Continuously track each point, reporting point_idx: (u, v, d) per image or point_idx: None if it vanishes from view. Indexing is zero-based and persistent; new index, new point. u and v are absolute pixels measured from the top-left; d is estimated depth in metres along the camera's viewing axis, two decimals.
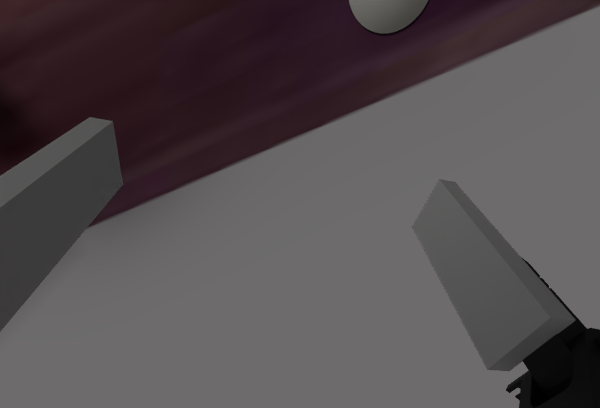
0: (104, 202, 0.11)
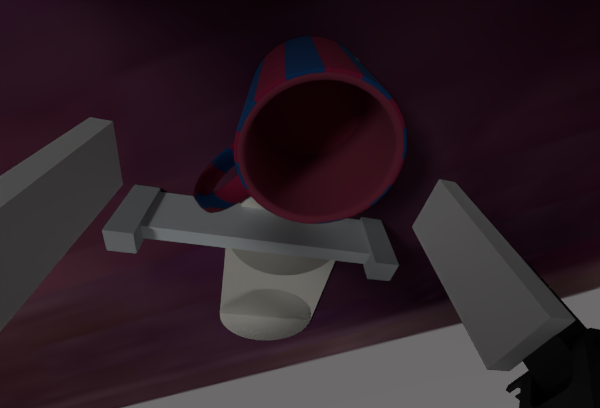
0: (104, 202, 0.11)
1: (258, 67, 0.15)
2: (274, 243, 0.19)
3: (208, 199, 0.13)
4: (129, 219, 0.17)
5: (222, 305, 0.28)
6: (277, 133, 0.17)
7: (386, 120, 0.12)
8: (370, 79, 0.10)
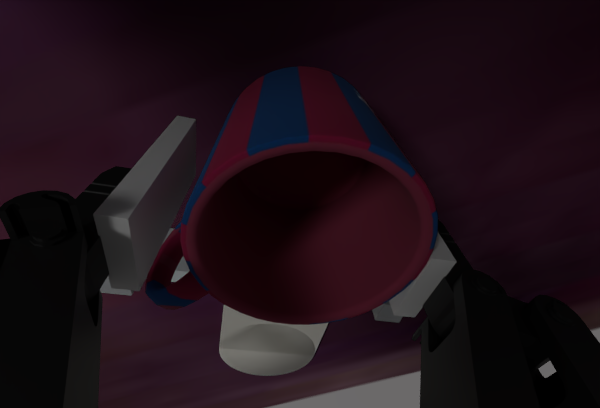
0: (185, 190, 0.13)
1: (231, 108, 0.12)
2: None
3: (159, 296, 0.10)
4: None
5: (221, 340, 0.27)
6: (261, 185, 0.14)
7: (404, 191, 0.08)
8: (382, 148, 0.06)
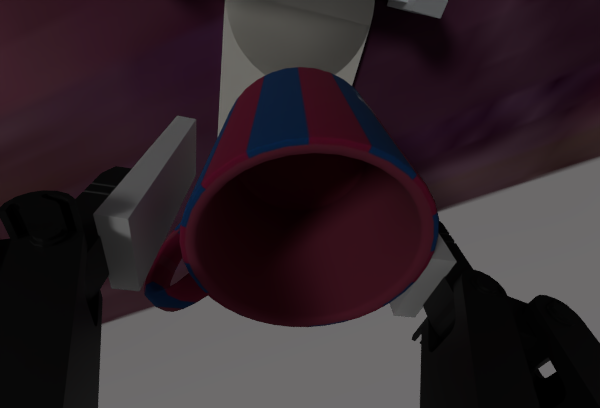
0: (185, 190, 0.13)
1: (231, 109, 0.12)
2: None
3: (158, 298, 0.09)
4: None
5: None
6: (261, 186, 0.14)
7: (405, 193, 0.08)
8: (383, 151, 0.06)
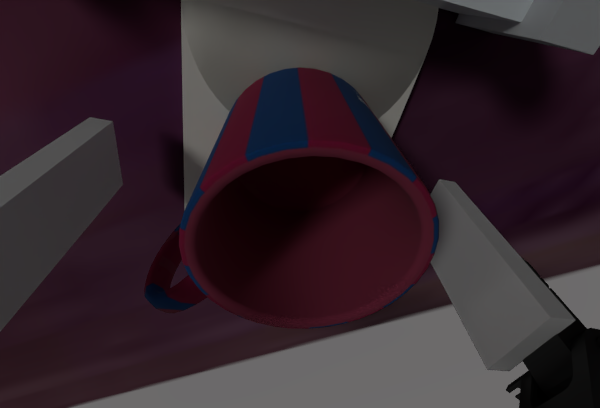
0: (104, 202, 0.11)
1: (231, 109, 0.12)
2: None
3: (158, 300, 0.09)
4: None
5: None
6: (261, 187, 0.14)
7: (405, 195, 0.08)
8: (382, 153, 0.06)
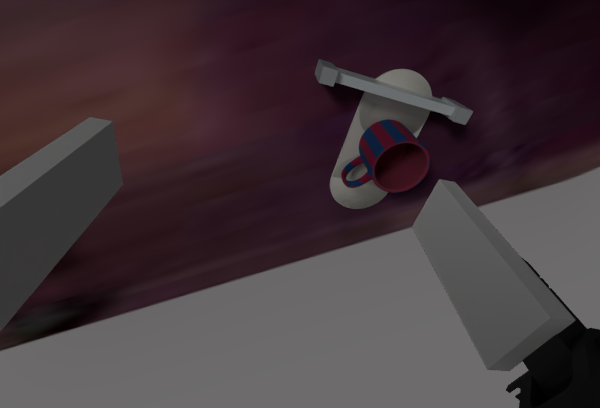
0: (104, 202, 0.11)
1: (367, 130, 0.37)
2: (403, 93, 0.32)
3: (354, 182, 0.35)
4: (331, 67, 0.30)
5: (336, 169, 0.41)
6: None
7: (422, 155, 0.34)
8: (420, 143, 0.32)
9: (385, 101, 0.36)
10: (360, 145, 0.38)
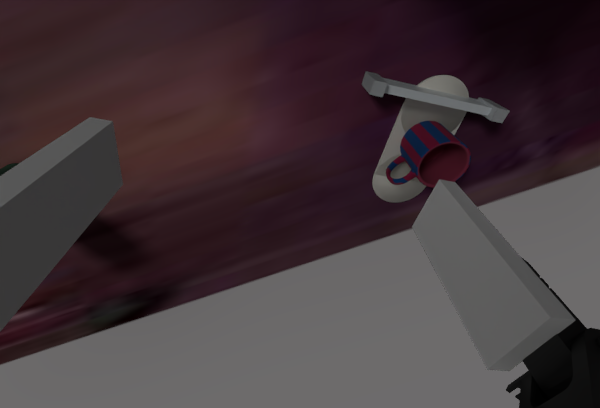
0: (104, 203, 0.11)
1: (408, 132, 0.41)
2: (444, 98, 0.36)
3: (400, 179, 0.39)
4: (380, 79, 0.34)
5: (378, 167, 0.45)
6: None
7: (462, 152, 0.37)
8: (462, 143, 0.35)
9: (425, 104, 0.39)
10: (401, 145, 0.42)
